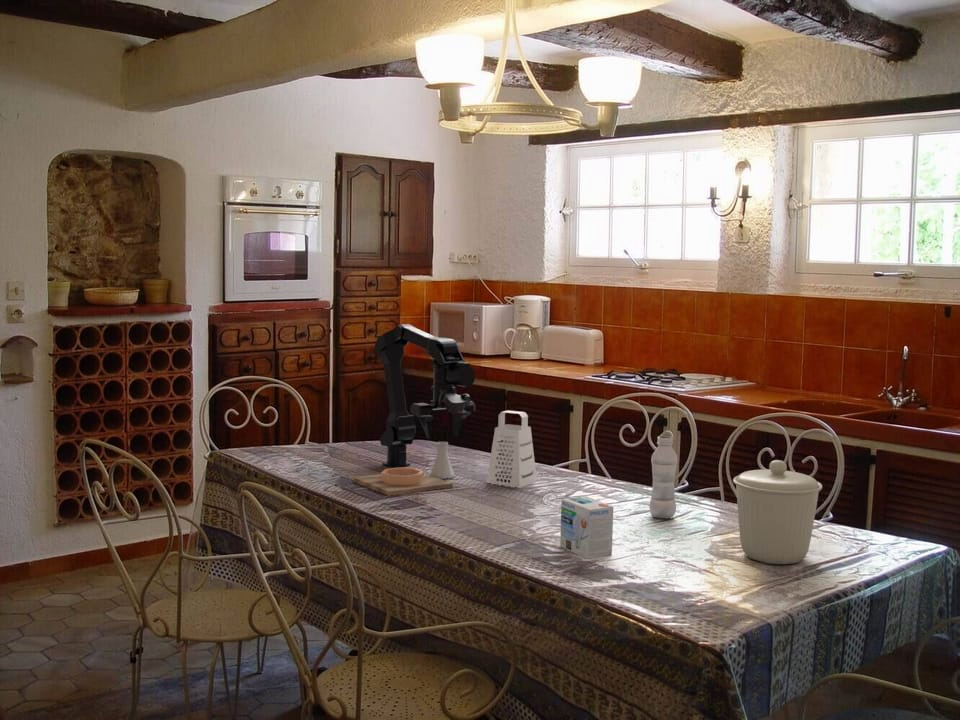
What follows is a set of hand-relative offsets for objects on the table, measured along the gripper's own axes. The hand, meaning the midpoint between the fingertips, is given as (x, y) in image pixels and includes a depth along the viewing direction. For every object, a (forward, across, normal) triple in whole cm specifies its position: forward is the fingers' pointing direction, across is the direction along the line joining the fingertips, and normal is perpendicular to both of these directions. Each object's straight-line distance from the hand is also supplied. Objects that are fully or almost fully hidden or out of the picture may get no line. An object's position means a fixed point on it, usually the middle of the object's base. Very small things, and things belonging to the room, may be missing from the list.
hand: (442, 437), depth 289 cm
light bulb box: (+11, -14, -79) cm, 81 cm away
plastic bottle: (+11, +21, -67) cm, 71 cm away
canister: (+11, +17, -104) cm, 106 cm away
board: (+11, -15, -3) cm, 19 cm away
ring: (+10, -15, -3) cm, 18 cm away
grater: (+12, +13, -16) cm, 24 cm away
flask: (+12, 0, 0) cm, 12 cm away
